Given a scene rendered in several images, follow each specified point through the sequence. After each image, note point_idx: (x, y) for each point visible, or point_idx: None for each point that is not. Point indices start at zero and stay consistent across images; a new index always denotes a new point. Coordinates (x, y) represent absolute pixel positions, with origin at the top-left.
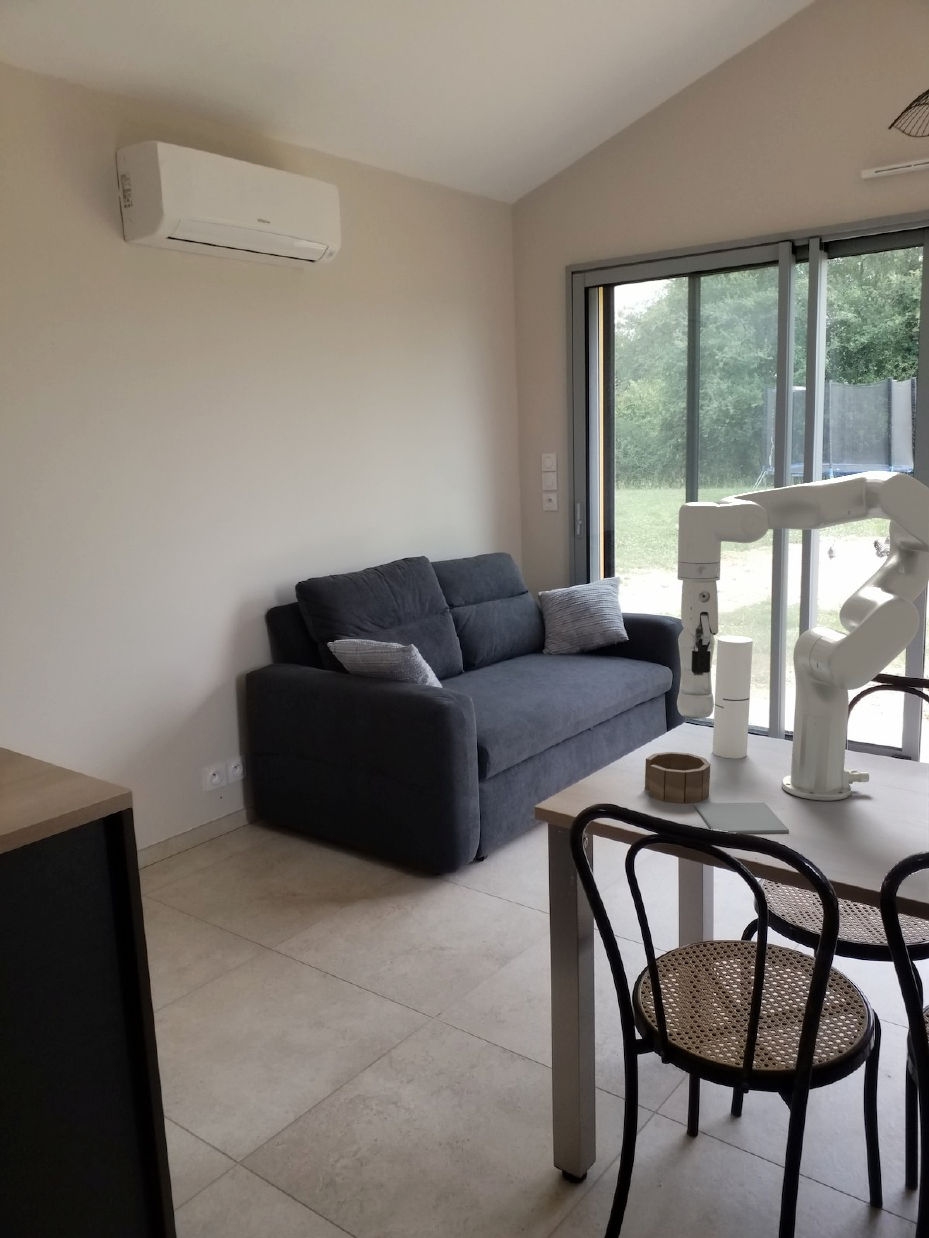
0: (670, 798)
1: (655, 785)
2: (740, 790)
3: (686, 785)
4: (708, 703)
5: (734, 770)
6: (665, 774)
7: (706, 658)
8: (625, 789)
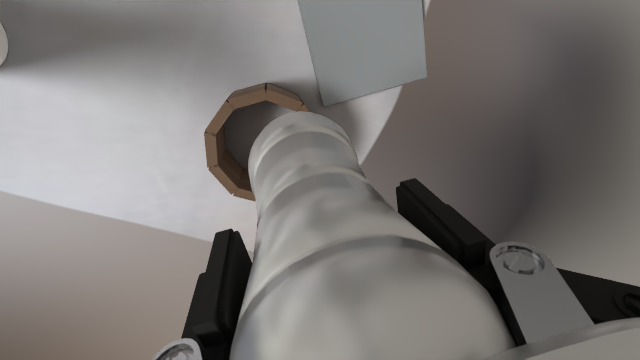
0: None
1: None
2: (223, 21)
3: None
4: (344, 133)
5: (96, 26)
6: None
7: (478, 230)
8: None
